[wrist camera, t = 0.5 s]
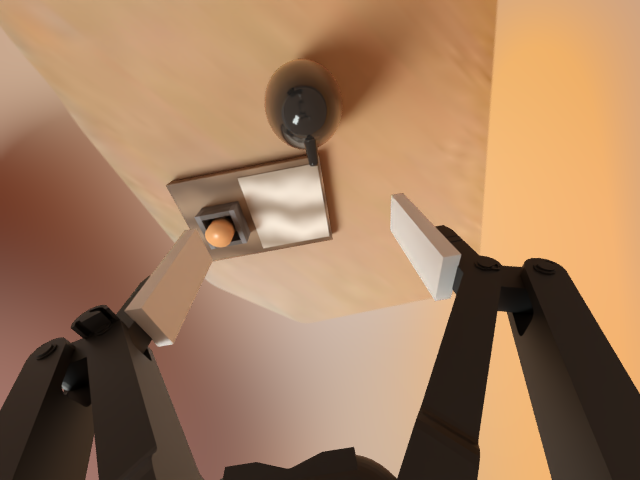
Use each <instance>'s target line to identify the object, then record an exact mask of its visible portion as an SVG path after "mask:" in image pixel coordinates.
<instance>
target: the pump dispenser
mask: <svg viewBox="0 0 640 480" xmlns="http://www.w3.org/2000/svg"><path fill="white" fill-rule="evenodd" d="M265 112H266V116H267V119H268V122H269V124H270V126H271V128H272V130H273V131H274V133H275V134H276V135H277V136H278V138H279V139H281V140H282V141H283V142H284V143H286V144H287V145H289V146H291V147H294V148H297V149H302V150H306V154H307V158H308V162H309V165H310V166H311V167H315V166H317V165H318V164H319V161H318V150H317V147H319V146H321V145H323V144H324V143H326V142H327V141H328V140H329V139H330V138H331V137H332V136H333V135H334V133H335V132H336V130H337V128H338V126H339V123H340V120H341V116H342V96H341V92H340V88H339V86H338V83H337V81H336V80H335V78H334V77H333V75H332V74H331V73H330V72H329V71H328V70H327V69H326V68H325V67H324V66H323V65H321V64H319V63H317V62H315V61H312V60H308V59H296V60H292V61H289V62H287V63H285V64H284V65H282V66H281V67H280V68H278V69H277V70H276V71H275V73H274V74H273V75H272V77H271V79H270V81H269V83H268V85H267V88H266V92H265Z"/></svg>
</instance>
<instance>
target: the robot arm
mask: <svg viewBox="0 0 640 480" xmlns="http://www.w3.org/2000/svg"><path fill="white" fill-rule="evenodd" d="M390 230H391V232H392V233H393V235H394V237H395V238H396V240H397V241H398V243H399V244H400V246H401V248H402V249H403V251H404V252H405V254H406V256H407V257H408V259H409V260H410V262H411V264H412V265H413V267H414V268H415V270H416V271H417V273H418V275H419V276H420V278H421V279H422V281H423V283H424V284H425V286H426V287H427V289H428V291H429V292H430V294H431V295H432V297H433V298H434V300H435V301H437V300H444V299H449V298H451V295H452V291H454V292H455V293H456V298H455V301H454V305H453V307H452V311H451V314H450V317H449V320H448V323H447V326H446V330H445V333H444V336H443V339H442V342H441V345H440V349H439V352H438V355H437V358H436V361H435V364H434V367H433V371H432V374H431V377H430V380H429V383H428V386H427V390H426V393H425V396H424V399H423V402H422V405H421V408H420V411H419V413H418V416H417V419H416V422H415V425H414V428H413V431H412V434H411V438H410V440H409V444H408V447H407V450H406V453H405V456H404V459H403V463H402V465H401V469H400V472H399V475H398V478H396V477H395V476H393V475H392V474H391V473H390V472H389V471H388V470H387V469H386V468H384V467H383V466H382V465H380V464H379V463H377V462H375V461H373V460H371V459H369V458H366V457H363V456H358V455H356V454H355V450H354V447H351V448H344V449H338V450H332V451H325V452H321V453H319V454H317V455H316V456H314V457H312V458H310V459H308V460H306V461H304V462H302V463H300V464H298V465H296V466H294V467H292V468H290V469H285V468H281V467H276V466H271V465H267V464H262V463H258V462H255V463H248V464H242V465H235V466H229V467H225V471H224V476H223V478H222V479H220V480H477V477H478V470H479V461H480V449H479V445H478V439H479V431H480V424H481V417H482V410H483V404H484V397H485V391H486V384H487V376H488V371H489V364H490V357H491V350H492V343H493V337H494V330H495V323H496V316H497V311H504V312H507V314H508V318H509V321H510V326H511V329H512V333H513V337H514V340H515V344H516V347H517V351H518V355H519V359H520V363H521V366H522V370H523V374H524V377H525V381H526V385H527V389H528V392H529V396H530V400H531V403H532V407H533V411H534V415H535V418H536V422H537V426H538V430H539V433H540V437H541V441H542V444H543V448H544V452H545V456H546V459H547V463H548V467H549V470H550V474H551V478H552V480H640V394H639V392H638V390H637V389H636V387H635V386H634V384H633V382H632V380H631V378H630V377H629V375H628V373H627V372H626V370H625V369H624V367H623V365H622V363H621V362H620V360H619V358H618V357H617V355H616V353H615V352H614V350H613V348H612V347H611V345H610V343H609V342H608V340H607V338H606V337H605V335H604V334H603V332H602V330H601V329H600V327H599V325H598V323H597V322H596V320H595V318H594V317H593V315H592V313H591V311H590V310H589V308H588V306H587V305H586V303H585V301H584V300H583V298H582V297H581V295H580V293H579V291H578V290H577V288H576V286H575V285H574V283H573V281H572V280H571V278H570V276H569V275H568V273H567V271H566V270H565V269H564V268H563V267H562V266H560V265H559V264H557V263H555V262H553V261H550V260H547V259H541V258H531V259H528V260H526V261H525V262H524V265H523V266H522V267H512V266H502V265H501V264H500V263H499V262H498V261H496V260H494V259H493V258H490V257H485V256H479V255H478V254H477V253H476V252H475V251H474V250H473V249H472V248H471V247H470V246H469V245H468V244H467V243H466V242H465V241H463V240H462V239H461V238H460V237H459V236H458V235H457V234H456V233H455V232H454V231H453V230H452V229H450V228H448V227H446V226H444V225H442V226H436V227H435V226H434V225H433V224H432V223H431V222H430V221H429V220H428V219H427V218H426V217H425V216H424V215H423V214H422V213H421V211H420V210H419V209H418V208H417V207H416V206H415V205H414V204H413V203H412V202H411V201H410V200H409V199H408V198H407V197H406V196H405V195H404V194H403V193H400V194H394V195H391V227H390ZM212 261H213V260H212V258H211V256H210V254H209V252H208V250H207V249H206V247H205V245H204V243H203V241H202V239H201V237H200V235H199V233H198V232H197V230H196V229H191V230H185V231H184V232H183V233H182V235H181V236H180V237H179V239H178V240H177V241H176V243H175V244H174V245H173V247H172V248H171V250H170V251H169V252H168V253H167V255H166V256H165V258H164V259H163V260H162V262H161V263H160V264H159V266H158V267H157V268H156V269H155V271H154V272H153V273H152V275H151V276H148V277H147V278H146V279H145V280H144V281H142V282H141V283H140V285H139V286H138V287H137V288H136V290H135V292H133V293H132V295H131V297H130V298H129V299H128V300H127V301H126V303H125V304H124V305H123V306H122V308H121V309H120V311H119V312H118V313H117V314H116V315H115V314H114V313H113V312H112V311H111V310H110V309H109V308H108V307H107V306H106V305H100V306H96V307H94V308H92V309H90V310H88V311H86V312H84V313H83V314H81V315H80V316H79V317H78V318H77V319H76V320H75V321H74V322H73V323H72V326H71V329H73V330H74V331H75V332H76V333H77V334H79V335H80V336H81V337H82V338H83V339H80V340H78V341H75V342H72V343H70V342H69V341H67V340H66V339H65V338H56V339H53V340H51V341H49V342H47V343H45V344H43V345H41V347H39V348H37V349H36V350H35V351H34V352H33V353H32V354H31V355H30V356H29V358H28V359H27V360H26V362H25V364H24V366H23V368H22V370H21V372H20V374H19V376H18V378H17V380H16V381H15V383H14V385H13V387H12V389H11V391H10V393H9V395H8V397H7V399H6V401H5V402H4V404H3V406H2V408H1V410H0V480H85V478H86V473H87V468H88V462H89V457H90V452H91V447H92V442H93V437H94V434H95V444H96V454H97V464H98V474H99V480H204V479H203V478H202V476H201V475H200V473H199V471H198V468H197V466H196V463H195V461H194V458H193V456H192V453H191V450H190V448H189V445H188V443H187V440H186V438H185V435H184V432H183V430H182V427H181V425H180V422H179V420H178V417H177V414H176V412H175V409H174V407H173V404H172V402H171V399H170V396H169V394H168V391H167V389H166V386H165V384H164V381H163V378H162V376H161V373H160V371H159V368H158V366H157V363H156V361H155V358H154V355H153V353H152V350H151V349H150V348H148V345H149V344H150V342H151V340H153V341H154V342H155V344H157V345H158V346H164V345H170V344H174V341H175V339H176V337H177V335H178V333H179V331H180V328H181V327H182V324H183V322H184V320H185V318H186V316H187V314H188V312H189V310H190V307H191V305H192V303H193V301H194V299H195V297H196V295H197V293H198V290H199V288H200V286H201V284H202V282H203V280H204V278H205V276H206V273H207V271H208V269H209V267H210V265H211V263H212ZM62 388H63V389H64V392H63V391H62Z"/></svg>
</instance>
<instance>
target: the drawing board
mask: <svg viewBox="0 0 640 480" xmlns="http://www.w3.org/2000/svg"><path fill="white" fill-rule="evenodd" d="M318 161H319V164H318V165H317V166H315V167H311V166H310V165H309V162H308V158H307V155H305V156H300V157H295V158H290V159H284V160H279V161H274V162H269V163H264V164H259V165H253V166H248V167H243V168H238V169H233V170H228V171H222V172H217V173H212V174H207V175H202V176H196V177H191V178H186V179H181V180H176V181H171V182H170V183H169V184H167V185H166V187H167V188H168V190H169V192H170V194H171V196H172V197H173V199H174V201H175V203H176V205H177V207H178V208H179V210H180V212H181V214H182V216H183V217H184V219H185V221H186V223H187V225H188V227H189V228H190V230H191V229H196V230H197V232H198V233H199V235H200V237H201V239H202V241H203V243H204V245H205V247H206V249H207V250H208V252H209V254H210V256H211V258H212V260H213V261H218V260H223V259H229V258H234V257H240V256H245V255H250V254H256V253H261V252H267V251H272V250H278V249H283V248H289V247H294V246H300V245H305V244H310V243H316V242H321V241H327V240H332V239H333V238H332V232H331V226H330V220H329V214H328V208H327V202H326V196H325V190H324V184H323V178H322V172H321V165H320V159H319V155H318ZM218 217H225V218H228V219H230V220H231V221H232V222H233V223H234V225H235V227H236V231H235V234H234V236H233V238H232V240H231V242H230V244H229V245H228V246H226V247H215V246H213V245H211V244H210V243H209V242H208V241H207V240H206V238H205V232H206V230H207V229H208V227H209V226H210V224H211V223H212V221H213V220H214V219H215V218H218Z"/></svg>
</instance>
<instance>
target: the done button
mask: <svg viewBox="0 0 640 480" xmlns="http://www.w3.org/2000/svg"><path fill="white" fill-rule="evenodd" d="M235 231H236V227H235V225H234V223H233V222H232V221H231V220H230V219H228V218H225V217H218V218H215V219H214V220H213V221H212V223H211V224H210V226H209V227H208V229H207V230H206V232H205V238H206V240H207V241H208V242H209V243H210V244H211V245H213V246H215V247H226V246H228V245H229V244H230V242H231V240H232V238H233V236H234V234H235Z"/></svg>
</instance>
